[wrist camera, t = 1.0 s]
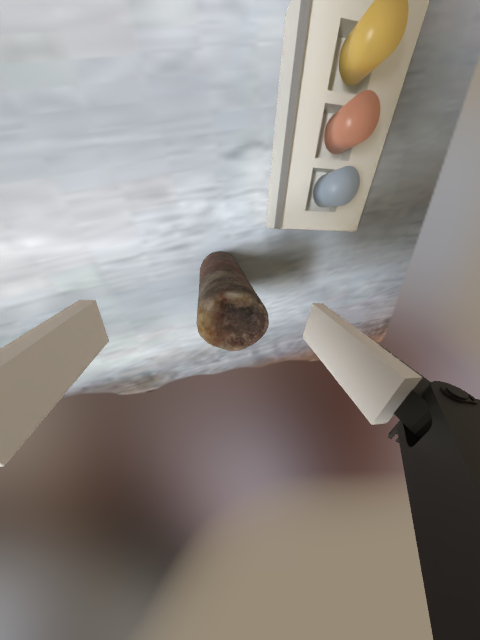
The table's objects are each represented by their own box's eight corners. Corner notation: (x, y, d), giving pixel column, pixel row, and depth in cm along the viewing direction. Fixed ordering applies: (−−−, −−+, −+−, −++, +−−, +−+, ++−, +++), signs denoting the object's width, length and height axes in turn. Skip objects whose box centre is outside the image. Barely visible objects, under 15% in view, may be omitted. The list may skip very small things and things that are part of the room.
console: (285, 14, 21) (308, -47, 16) (389, 37, 23) (437, -11, 18) (265, 227, 32) (275, 228, 27) (337, 229, 34) (358, 231, 29)
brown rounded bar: (246, 277, 36) (281, 333, 18) (216, 297, 37) (222, 367, 20) (224, 243, 32) (243, 271, 15) (192, 266, 33) (173, 318, 16)
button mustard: (345, 23, 18) (376, -21, 15) (379, 31, 19) (416, -10, 16) (334, 82, 20) (359, 55, 17) (365, 88, 21) (395, 62, 18)
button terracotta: (329, 108, 21) (352, 86, 18) (359, 112, 22) (386, 92, 19) (320, 152, 23) (339, 141, 20) (348, 155, 24) (371, 144, 20)
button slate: (316, 171, 24) (334, 164, 21) (343, 174, 25) (364, 167, 21) (310, 206, 26) (325, 205, 23) (334, 208, 27) (353, 206, 23)
